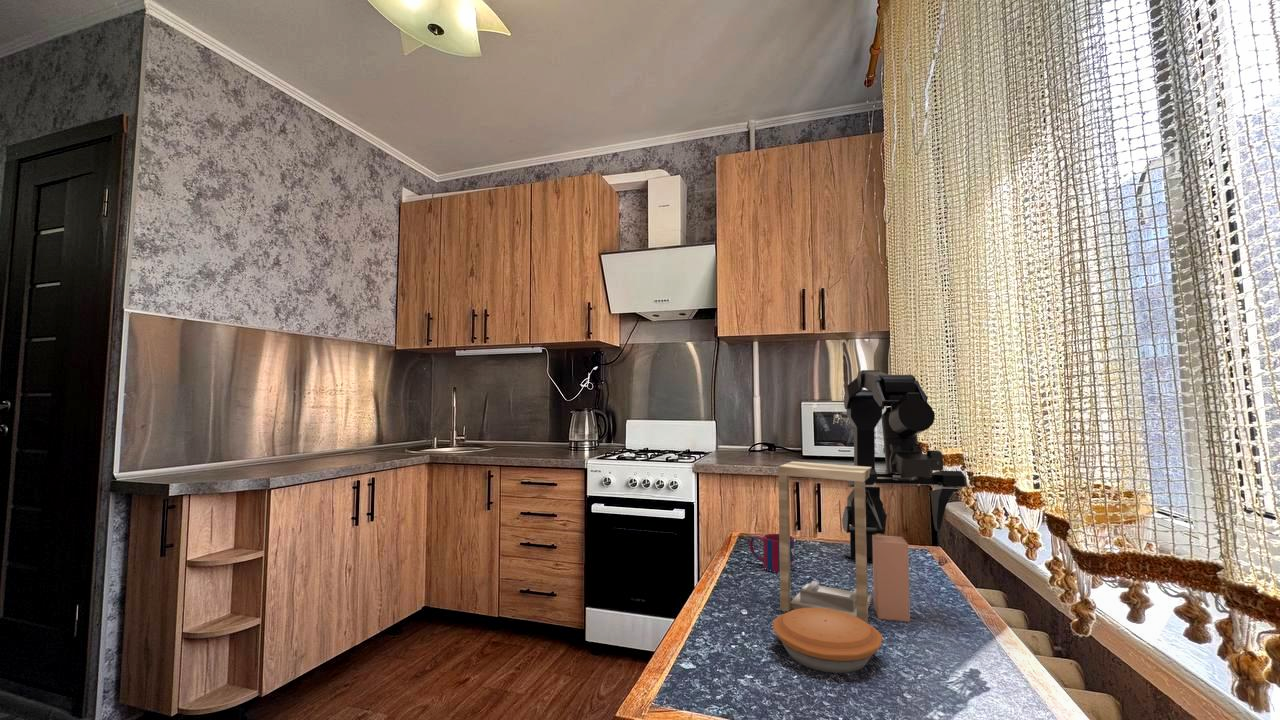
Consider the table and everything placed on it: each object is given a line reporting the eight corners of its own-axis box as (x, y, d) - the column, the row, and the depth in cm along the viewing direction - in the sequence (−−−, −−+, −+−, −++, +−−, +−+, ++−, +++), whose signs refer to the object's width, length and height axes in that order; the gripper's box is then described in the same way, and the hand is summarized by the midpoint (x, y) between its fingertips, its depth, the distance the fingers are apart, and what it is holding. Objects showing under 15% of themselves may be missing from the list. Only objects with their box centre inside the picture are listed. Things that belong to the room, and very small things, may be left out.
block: (873, 607, 99) (872, 534, 100) (903, 610, 98) (901, 536, 99) (878, 618, 94) (876, 541, 95) (910, 621, 93) (908, 544, 94)
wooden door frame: (801, 587, 109) (799, 458, 111) (879, 601, 102) (876, 463, 103) (780, 610, 98) (778, 466, 99) (866, 628, 90) (863, 472, 92)
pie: (786, 625, 92) (785, 594, 92) (886, 645, 85) (886, 612, 85) (760, 664, 78) (759, 629, 79) (877, 693, 71) (876, 653, 71)
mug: (787, 575, 117) (786, 543, 117) (744, 566, 123) (744, 535, 123) (799, 567, 122) (799, 536, 122) (758, 559, 128) (758, 529, 129)
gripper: (856, 433, 94) (864, 527, 90) (973, 434, 91) (988, 531, 87) (844, 442, 105) (850, 527, 100) (948, 443, 102) (960, 531, 97)
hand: (909, 529), depth 96 cm, fingers open, 9 cm apart
